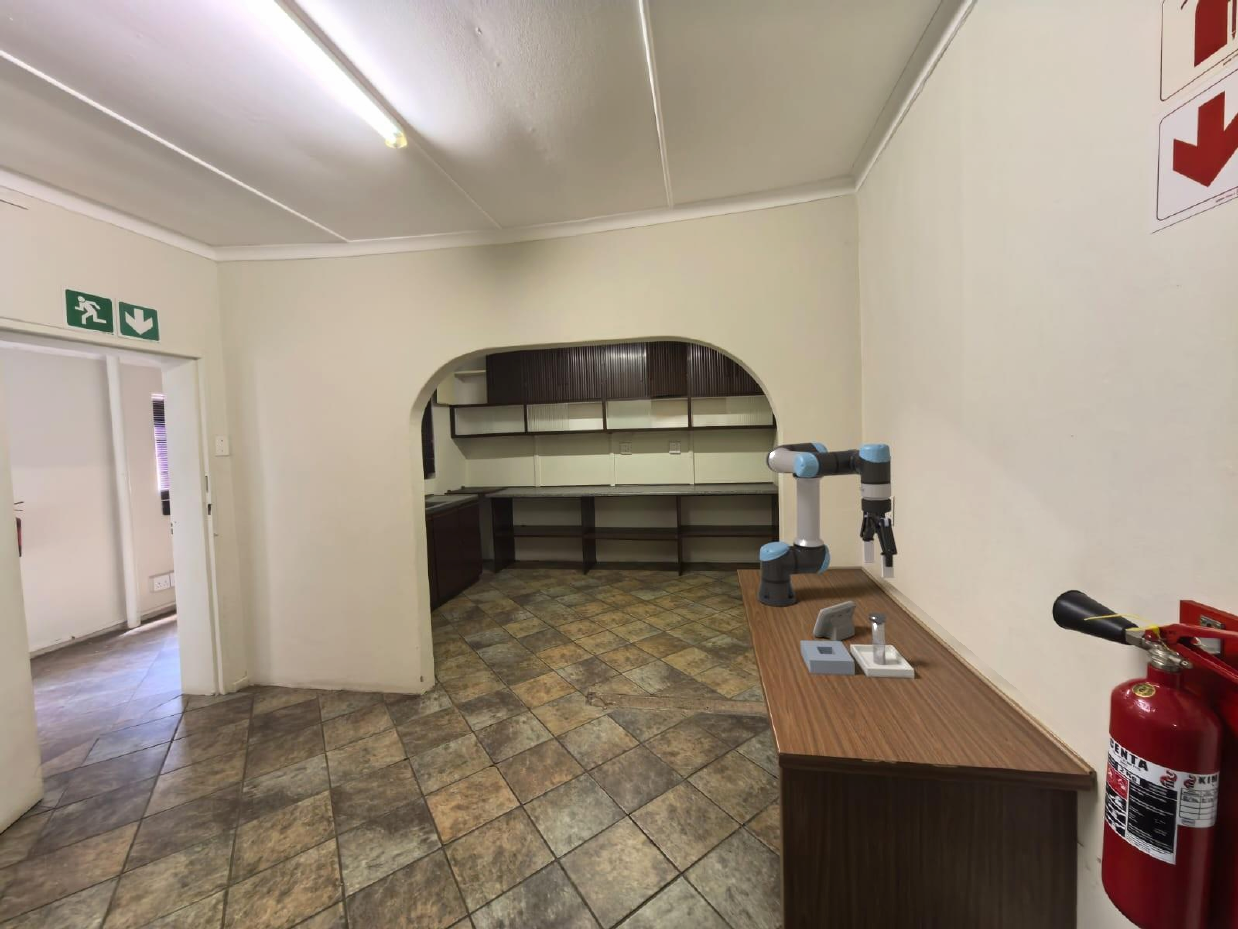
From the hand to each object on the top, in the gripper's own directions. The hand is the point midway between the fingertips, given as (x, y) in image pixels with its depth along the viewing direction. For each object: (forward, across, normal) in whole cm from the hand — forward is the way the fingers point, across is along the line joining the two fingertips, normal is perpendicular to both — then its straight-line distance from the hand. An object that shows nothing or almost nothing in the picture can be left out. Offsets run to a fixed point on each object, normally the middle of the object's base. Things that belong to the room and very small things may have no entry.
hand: (877, 569), depth 128 cm
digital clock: (+29, -20, -7) cm, 36 cm away
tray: (+29, 0, 0) cm, 29 cm away
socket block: (+29, 0, -15) cm, 32 cm away
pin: (+28, 0, 0) cm, 28 cm away
